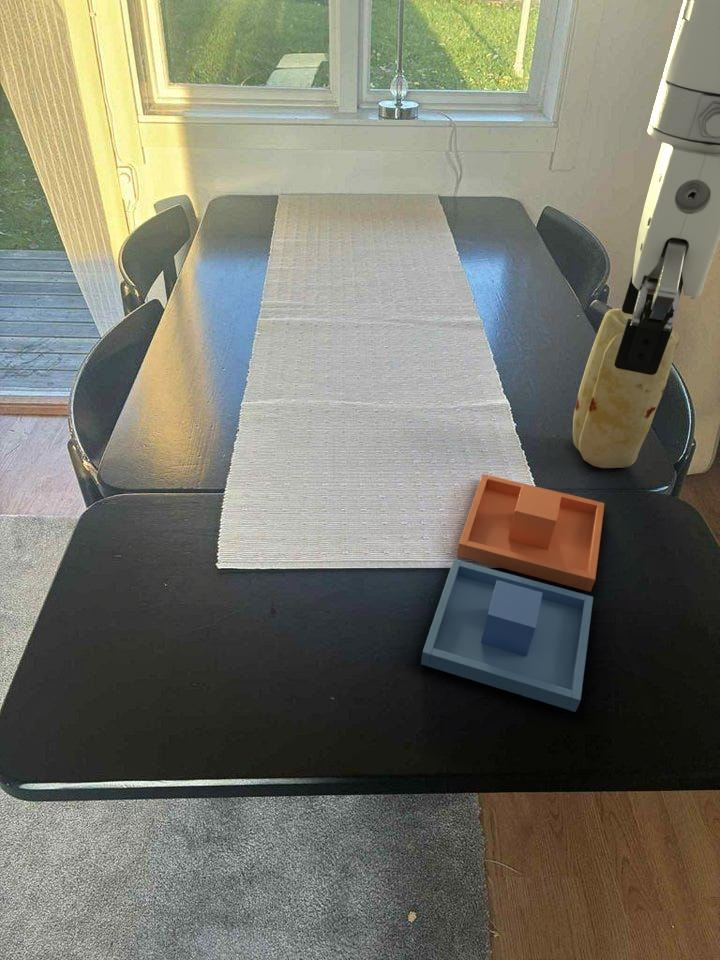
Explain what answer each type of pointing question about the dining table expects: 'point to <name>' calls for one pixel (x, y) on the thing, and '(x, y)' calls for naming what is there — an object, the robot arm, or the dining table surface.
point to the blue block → (512, 618)
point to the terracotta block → (535, 517)
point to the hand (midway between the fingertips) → (637, 340)
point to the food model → (616, 399)
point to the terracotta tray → (561, 563)
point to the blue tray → (538, 675)
